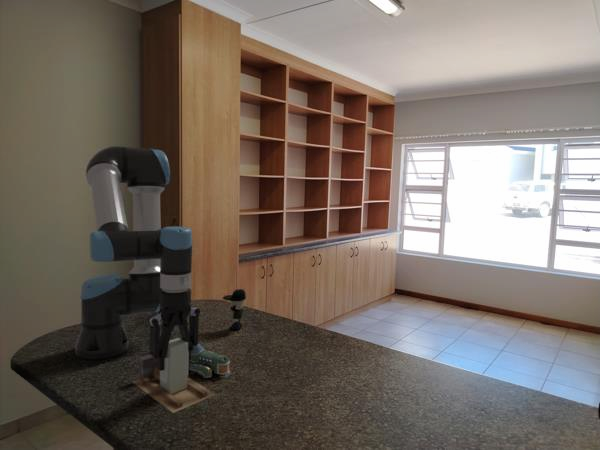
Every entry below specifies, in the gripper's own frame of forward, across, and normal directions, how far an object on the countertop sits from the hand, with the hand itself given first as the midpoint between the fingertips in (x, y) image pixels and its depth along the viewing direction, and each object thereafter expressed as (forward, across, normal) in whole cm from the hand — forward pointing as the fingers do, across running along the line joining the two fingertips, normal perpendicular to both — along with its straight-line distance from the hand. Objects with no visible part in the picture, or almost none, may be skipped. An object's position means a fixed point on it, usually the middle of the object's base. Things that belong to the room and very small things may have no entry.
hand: (174, 377), depth 104 cm
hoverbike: (+5, +11, +8) cm, 14 cm away
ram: (+3, 0, 0) cm, 3 cm away
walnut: (+3, 0, +6) cm, 7 cm away
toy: (+5, +41, +26) cm, 49 cm away
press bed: (+4, 0, 0) cm, 4 cm away
